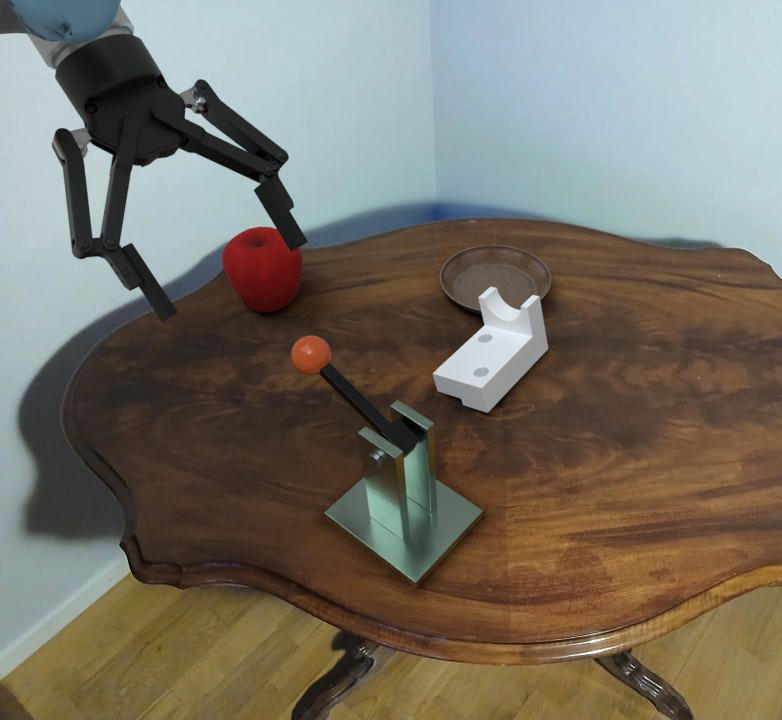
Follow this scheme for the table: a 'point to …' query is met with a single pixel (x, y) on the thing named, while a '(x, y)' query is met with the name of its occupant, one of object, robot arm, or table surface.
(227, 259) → the apple
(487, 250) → the saucer
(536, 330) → the bracket
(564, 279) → the table surface
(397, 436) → the clamp lever
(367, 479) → the clamp
